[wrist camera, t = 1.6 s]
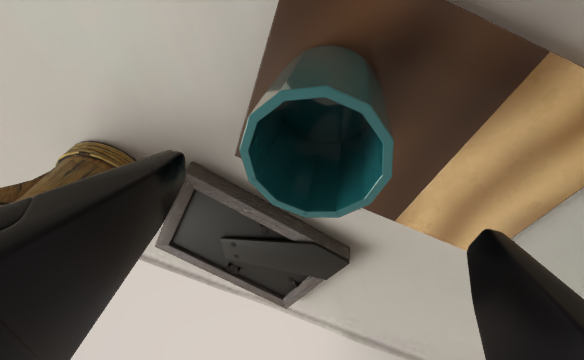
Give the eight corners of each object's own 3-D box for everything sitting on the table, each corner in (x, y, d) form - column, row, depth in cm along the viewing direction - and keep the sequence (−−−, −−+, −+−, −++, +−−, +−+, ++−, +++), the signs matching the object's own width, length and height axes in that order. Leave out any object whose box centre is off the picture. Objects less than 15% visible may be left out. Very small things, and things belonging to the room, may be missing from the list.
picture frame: (349, 247, 29) (192, 161, 26) (349, 263, 28) (182, 174, 24) (288, 297, 37) (162, 236, 34) (285, 312, 35) (152, 249, 32)
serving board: (665, 108, 17) (683, 116, 16) (479, 247, 26) (483, 258, 25) (302, -69, 15) (299, -72, 14) (239, 148, 24) (234, 155, 23)
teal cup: (401, 72, 17) (428, 130, 11) (348, 157, 21) (346, 235, 15) (298, 25, 17) (265, 58, 10) (265, 122, 21) (227, 187, 15)
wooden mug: (21, 97, 25) (-413, 261, 11) (161, 171, 27) (-45, 385, 13) (28, 164, 30) (-258, 333, 16) (145, 221, 33) (-14, 413, 18)
